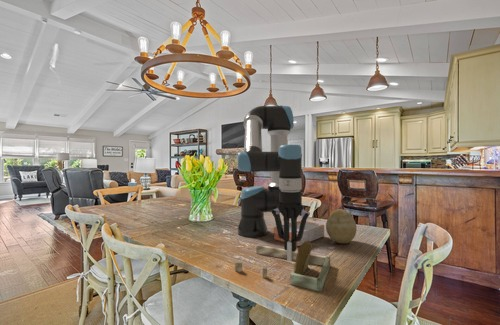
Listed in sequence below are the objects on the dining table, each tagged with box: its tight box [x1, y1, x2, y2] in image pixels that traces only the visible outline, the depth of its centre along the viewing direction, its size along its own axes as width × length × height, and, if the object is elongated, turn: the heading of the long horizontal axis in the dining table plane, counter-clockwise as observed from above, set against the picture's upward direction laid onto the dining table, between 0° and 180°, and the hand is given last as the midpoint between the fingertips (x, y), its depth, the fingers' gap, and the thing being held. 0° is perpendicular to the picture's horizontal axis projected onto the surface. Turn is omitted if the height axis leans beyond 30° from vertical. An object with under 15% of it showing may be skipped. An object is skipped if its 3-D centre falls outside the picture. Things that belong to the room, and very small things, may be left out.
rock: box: [293, 241, 313, 275], centre depth 79 cm, size 11×9×10 cm
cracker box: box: [273, 219, 325, 247], centre depth 112 cm, size 14×6×21 cm
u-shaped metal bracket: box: [234, 244, 331, 292], centre depth 81 cm, size 28×18×3 cm, turn 63°
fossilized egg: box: [325, 208, 358, 244], centre depth 105 cm, size 13×13×15 cm
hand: (290, 259), depth 80 cm, fingers closed
